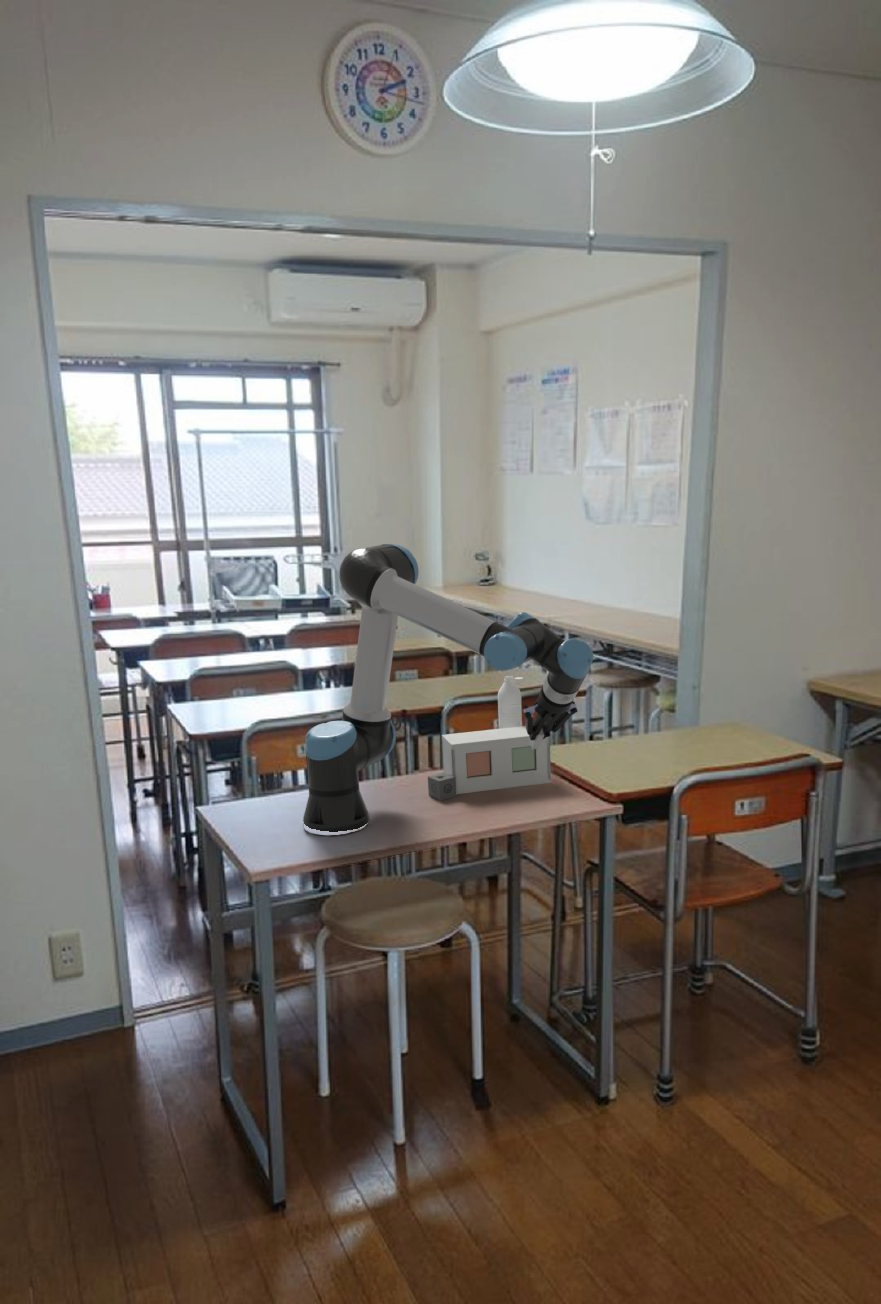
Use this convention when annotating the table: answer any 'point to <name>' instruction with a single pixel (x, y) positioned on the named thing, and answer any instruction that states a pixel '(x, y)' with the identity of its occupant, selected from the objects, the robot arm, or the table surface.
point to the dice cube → (442, 786)
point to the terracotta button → (478, 763)
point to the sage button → (523, 758)
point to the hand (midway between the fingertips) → (533, 744)
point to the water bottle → (510, 703)
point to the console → (494, 759)
